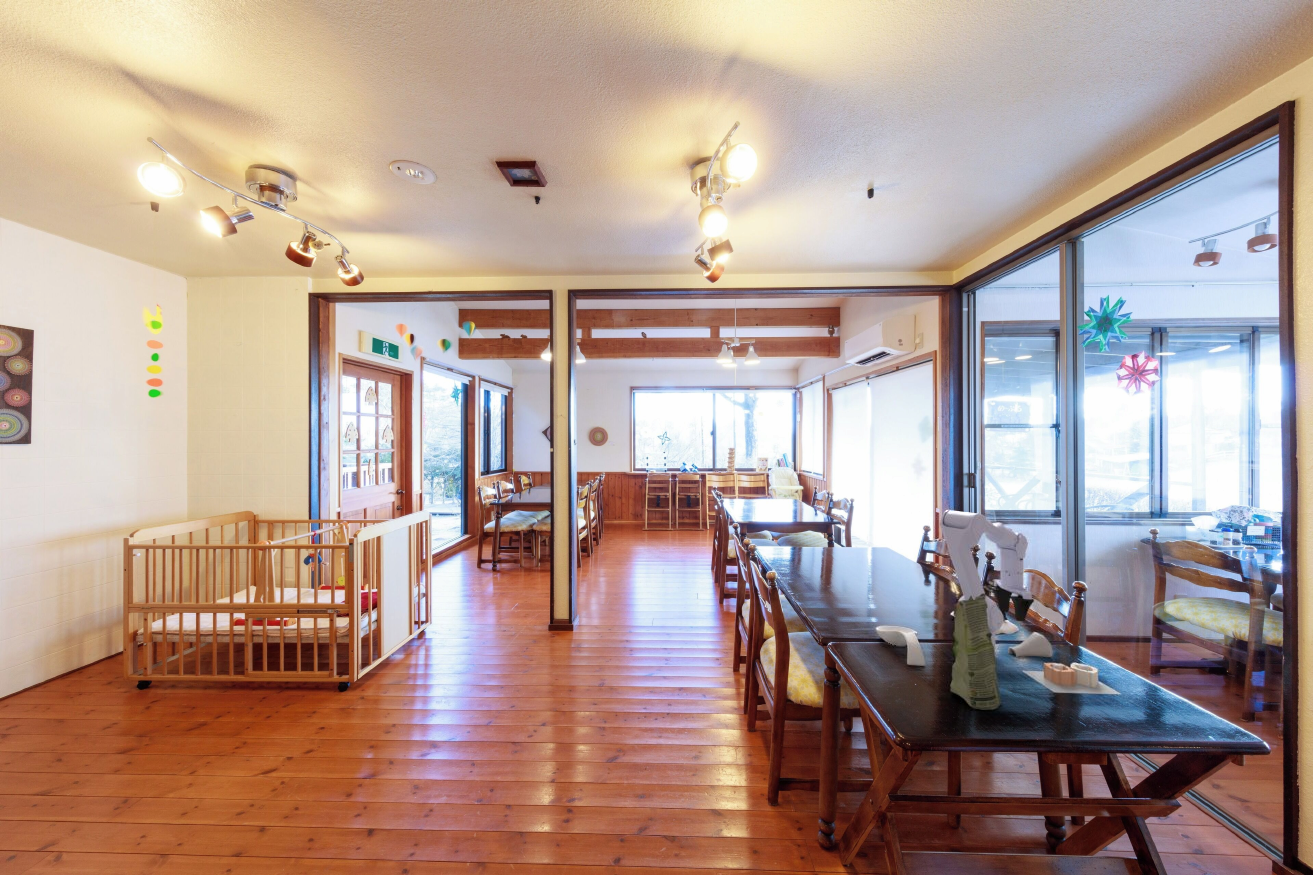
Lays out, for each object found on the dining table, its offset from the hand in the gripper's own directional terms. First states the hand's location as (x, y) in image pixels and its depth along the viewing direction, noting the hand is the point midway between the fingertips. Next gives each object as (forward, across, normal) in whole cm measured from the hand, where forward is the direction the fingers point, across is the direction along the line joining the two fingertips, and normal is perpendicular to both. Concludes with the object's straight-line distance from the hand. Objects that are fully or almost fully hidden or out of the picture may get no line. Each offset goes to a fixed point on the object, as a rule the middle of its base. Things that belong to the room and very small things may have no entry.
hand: (1012, 616), depth 154 cm
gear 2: (+9, -24, -3) cm, 25 cm away
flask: (+6, -6, -5) cm, 10 cm away
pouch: (+10, -33, +30) cm, 46 cm away
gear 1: (+9, -24, +3) cm, 25 cm away
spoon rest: (+10, -3, +34) cm, 35 cm away
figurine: (+10, +22, -4) cm, 25 cm away
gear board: (+10, -24, +1) cm, 26 cm away
